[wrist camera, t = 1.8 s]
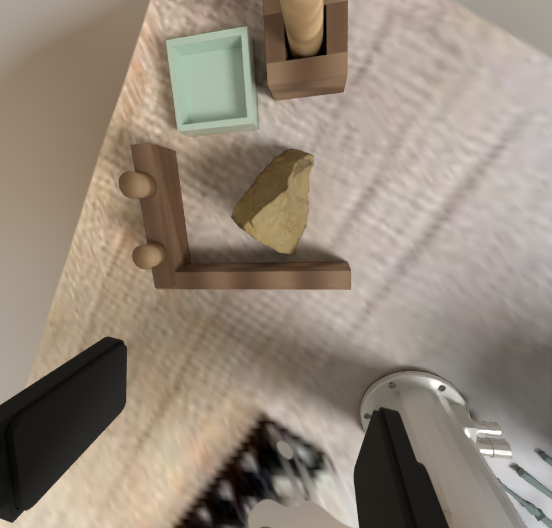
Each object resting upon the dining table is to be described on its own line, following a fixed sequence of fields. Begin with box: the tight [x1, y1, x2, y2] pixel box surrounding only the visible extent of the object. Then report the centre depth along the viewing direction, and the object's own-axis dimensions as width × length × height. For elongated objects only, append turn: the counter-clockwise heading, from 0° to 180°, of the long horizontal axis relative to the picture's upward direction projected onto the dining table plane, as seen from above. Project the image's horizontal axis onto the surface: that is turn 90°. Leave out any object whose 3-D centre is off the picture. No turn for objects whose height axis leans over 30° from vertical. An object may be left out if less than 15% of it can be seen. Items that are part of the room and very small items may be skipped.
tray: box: [166, 26, 259, 137], centre depth 27 cm, size 8×8×2 cm
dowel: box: [280, 0, 323, 60], centre depth 21 cm, size 3×3×12 cm
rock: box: [231, 149, 314, 255], centre depth 27 cm, size 11×9×10 cm
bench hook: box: [119, 143, 351, 290], centre depth 28 cm, size 22×16×7 cm
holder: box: [263, 0, 348, 101], centre depth 25 cm, size 7×7×4 cm
